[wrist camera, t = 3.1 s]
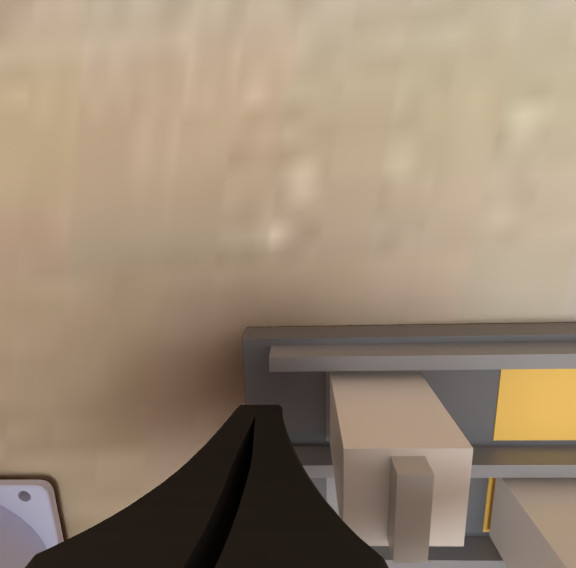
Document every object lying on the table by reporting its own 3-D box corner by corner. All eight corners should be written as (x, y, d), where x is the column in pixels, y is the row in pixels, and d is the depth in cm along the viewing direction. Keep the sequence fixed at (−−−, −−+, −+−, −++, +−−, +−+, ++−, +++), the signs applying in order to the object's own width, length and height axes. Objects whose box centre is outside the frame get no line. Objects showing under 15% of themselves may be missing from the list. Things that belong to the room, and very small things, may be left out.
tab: (329, 443, 13) (345, 569, 9) (329, 371, 13) (346, 466, 8) (414, 442, 13) (474, 569, 9) (418, 370, 12) (486, 466, 8)
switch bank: (261, 596, 17) (255, 655, 15) (246, 327, 14) (237, 350, 12) (598, 600, 16) (644, 661, 14) (657, 321, 13) (725, 344, 11)
